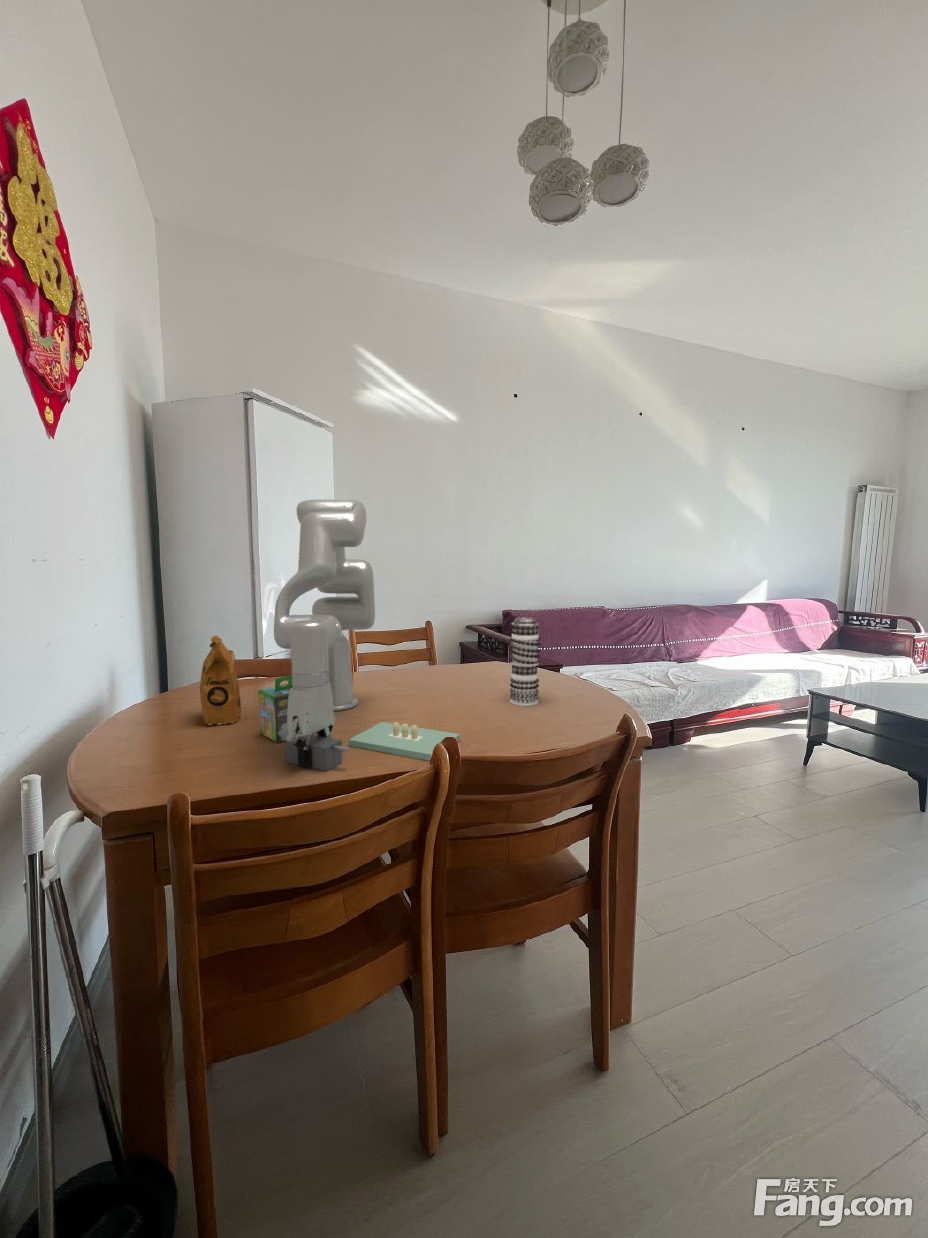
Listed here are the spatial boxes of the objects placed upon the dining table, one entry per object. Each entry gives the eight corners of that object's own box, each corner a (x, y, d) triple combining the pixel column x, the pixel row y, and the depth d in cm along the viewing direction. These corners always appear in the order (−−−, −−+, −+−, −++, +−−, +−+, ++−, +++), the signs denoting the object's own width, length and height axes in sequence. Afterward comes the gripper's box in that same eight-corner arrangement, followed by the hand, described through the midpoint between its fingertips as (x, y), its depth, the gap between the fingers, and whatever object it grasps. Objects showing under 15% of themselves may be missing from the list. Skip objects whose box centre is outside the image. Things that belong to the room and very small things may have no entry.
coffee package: (198, 728, 138) (192, 643, 135) (203, 714, 149) (198, 635, 146) (240, 724, 141) (235, 641, 138) (242, 710, 153) (238, 633, 150)
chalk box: (294, 725, 140) (291, 669, 138) (311, 734, 133) (309, 675, 131) (259, 734, 134) (256, 675, 131) (276, 744, 127) (273, 682, 125)
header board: (348, 745, 126) (348, 727, 125) (382, 727, 138) (381, 710, 138) (432, 761, 117) (432, 741, 116) (459, 740, 129) (459, 722, 129)
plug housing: (286, 762, 116) (284, 740, 115) (301, 754, 121) (301, 732, 120) (341, 774, 110) (340, 750, 110) (355, 765, 115) (355, 742, 114)
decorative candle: (541, 706, 156) (543, 620, 153) (509, 706, 157) (510, 620, 153) (537, 697, 166) (539, 616, 162) (507, 697, 166) (508, 616, 162)
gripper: (322, 668, 123) (325, 745, 125) (267, 686, 108) (271, 773, 110) (349, 671, 120) (352, 750, 122) (296, 690, 104) (300, 780, 107)
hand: (314, 760), depth 116 cm, fingers closed on plug housing, 5 cm apart
